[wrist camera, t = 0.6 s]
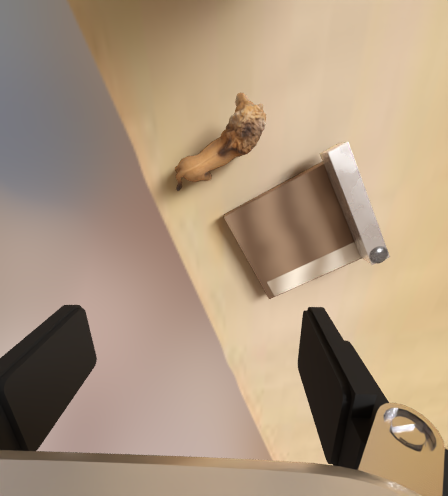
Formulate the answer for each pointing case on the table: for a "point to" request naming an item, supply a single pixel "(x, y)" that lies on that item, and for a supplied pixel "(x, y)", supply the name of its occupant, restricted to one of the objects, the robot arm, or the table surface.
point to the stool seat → (294, 232)
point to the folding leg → (354, 202)
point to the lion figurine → (226, 142)
